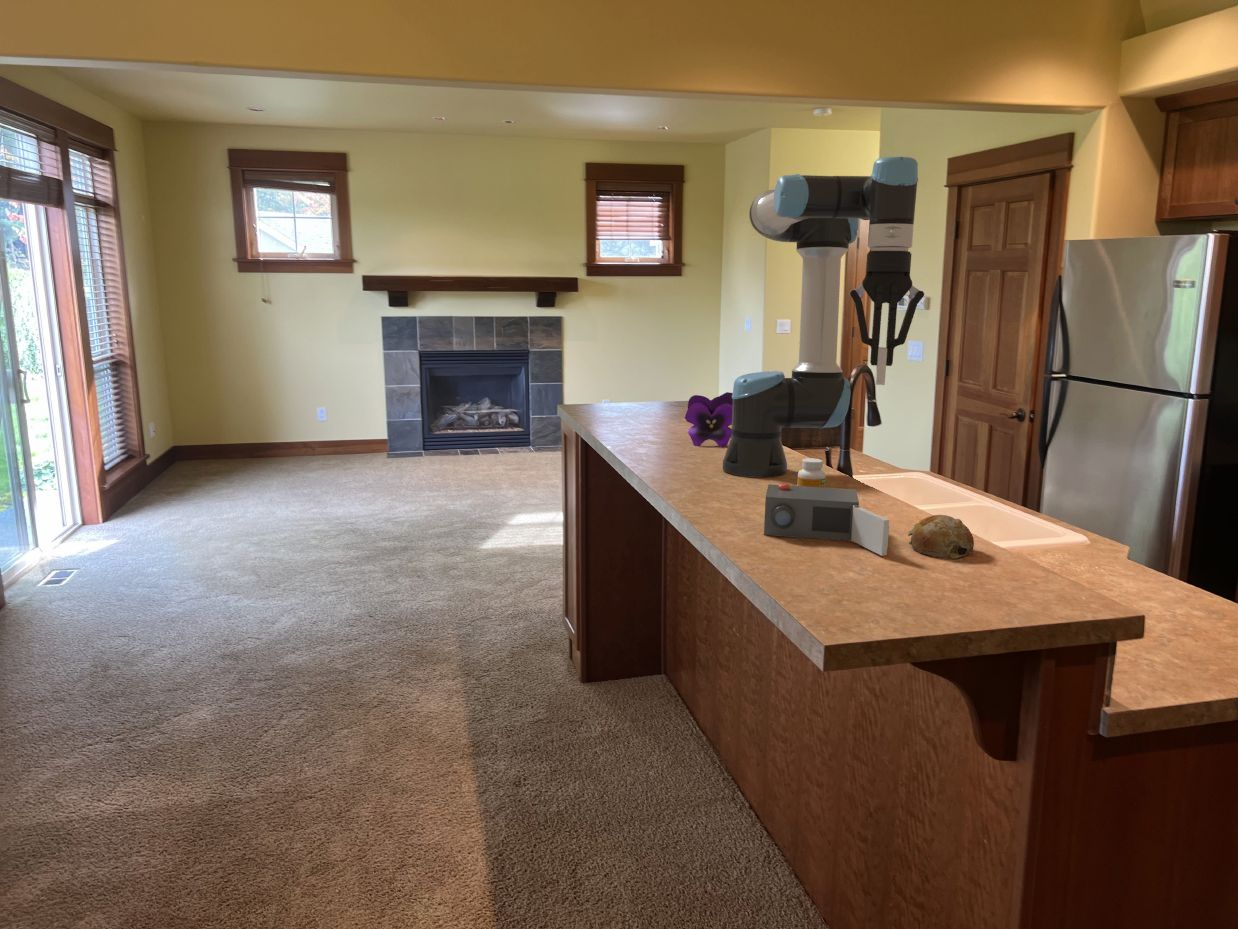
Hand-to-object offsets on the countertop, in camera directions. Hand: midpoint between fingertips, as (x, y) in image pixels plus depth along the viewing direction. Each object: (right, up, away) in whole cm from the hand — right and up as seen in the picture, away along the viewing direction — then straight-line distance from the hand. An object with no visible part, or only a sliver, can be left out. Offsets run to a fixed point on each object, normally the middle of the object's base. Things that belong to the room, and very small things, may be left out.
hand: (879, 383), depth 161 cm
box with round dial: (-13, -27, +1) cm, 29 cm away
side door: (-5, -29, -10) cm, 31 cm away
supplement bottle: (-9, -23, +17) cm, 30 cm away
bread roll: (+7, -30, -10) cm, 32 cm away
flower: (-22, -9, +87) cm, 90 cm away
